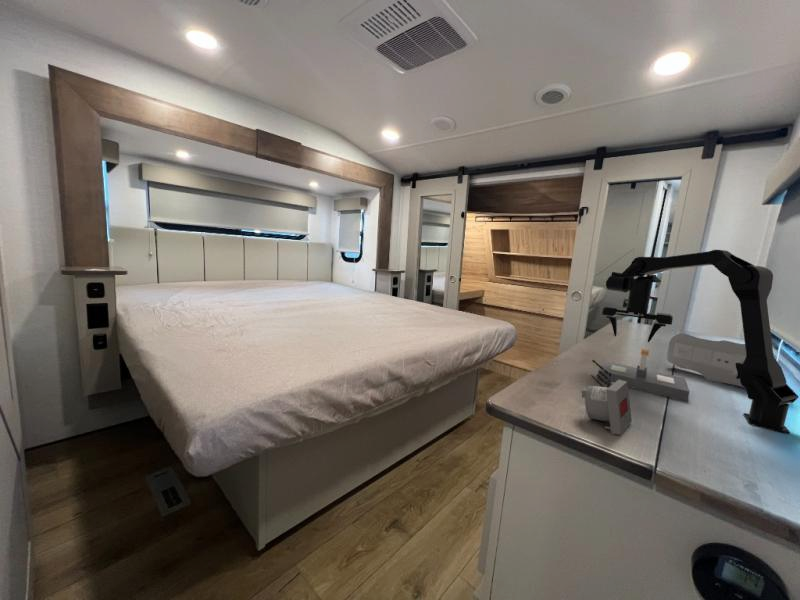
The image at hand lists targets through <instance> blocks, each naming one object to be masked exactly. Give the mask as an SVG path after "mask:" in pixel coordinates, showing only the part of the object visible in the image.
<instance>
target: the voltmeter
mask: <svg viewBox="0 0 800 600" xmlns="http://www.w3.org/2000/svg"><path fill="white" fill-rule="evenodd" d="M592 362H593V363H594V364H595V366H597V367H598V368H601V369H602V368H603V367H601V364H599V363H598V362H596V360H594V359H592ZM602 370H603V371H605V372H606V373H607V374H608V372H607V371H606V370H604V369H602ZM599 373H600V374H602V376H603V377H604V378H606V379H608V377H607V376H606V377H605V375H604V374H603V373H602V372H601V371H600V372H599ZM590 376H591V378H592V379H593V380H594V381H595V382H596V384H598V385H599V386H595V385H589V386H588V387H584V388H583V389H581V391H580V392H581V398H583V399H584V398H585V399H584V405H585V411H586V414H587V416H588V418H589V419H591V420H592V419H593V420H597V421H603V422H607V423H609V426H607V425H604V428H605V429H607V430H608V429H609V430H610V434H611V435H622V434H623V433H624V431H625V430H626V429H627V428H628V426H629V425H630V424H631V422H632V421H633V420H632V414H631V404H630V402H631V401H630V395H629V393H630V392H629V387H628V384H627V382H626V381H622V380H617V381H616V382H615V383H613V382H609V381H610V378H609V380H608V382H607V381H605V380H604V381H603V379H602V378H600V376H599V375H598V373H597V374H596V377H595V376H594V375H593V374H592V375H590ZM609 376H610V377H611V372H610V373H609ZM597 377H598V378H599V379H600V381H601V382H602V383H604V384H605V386H607V387H605V386H604V385H603V384H602V383H601V382H600V381H599V379H597ZM610 384H611V385H610Z"/></svg>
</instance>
